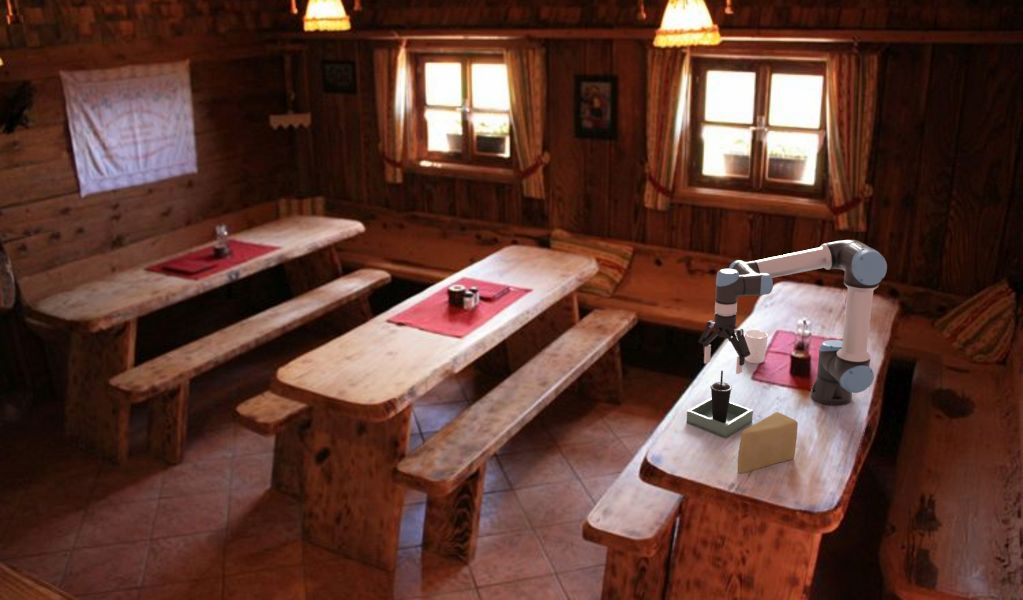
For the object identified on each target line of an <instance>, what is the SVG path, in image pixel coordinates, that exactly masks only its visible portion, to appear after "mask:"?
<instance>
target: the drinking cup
mask: <svg viewBox="0 0 1023 600" xmlns="http://www.w3.org/2000/svg"><path fill="white" fill-rule="evenodd" d="M723 378H724V370H723V369H722V370H720V381H715V382H713V383H711V384H710V389H711V391H710V392H711V394H710V395H711V397H712V416H713V419H714V420H716V421H719V422H722V423H724V422H726V418H727V411H728V405H729V402H730V398H731V392H732V389H733V386H732V385H731V384H729V383H727V382H723V381H724V380H723Z"/></svg>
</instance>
